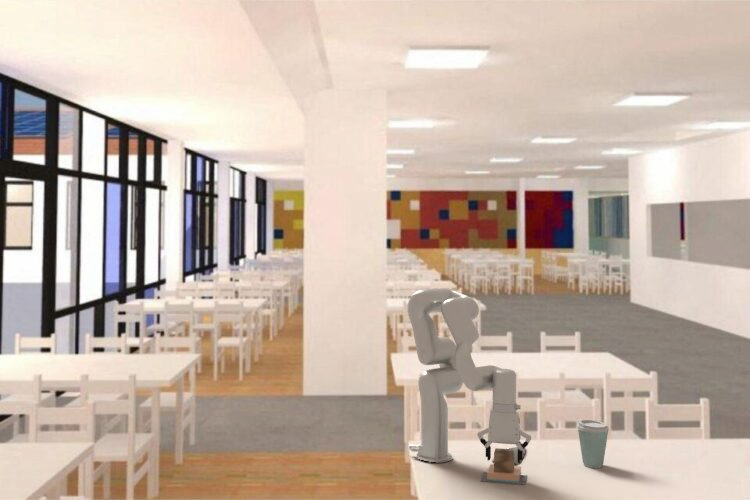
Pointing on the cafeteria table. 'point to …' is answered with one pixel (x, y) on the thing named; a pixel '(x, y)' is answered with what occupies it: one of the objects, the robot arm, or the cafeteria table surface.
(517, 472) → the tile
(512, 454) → the walnut block
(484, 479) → the mat
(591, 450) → the disposable coffee cup
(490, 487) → the cafeteria table surface
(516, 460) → the stone slab
